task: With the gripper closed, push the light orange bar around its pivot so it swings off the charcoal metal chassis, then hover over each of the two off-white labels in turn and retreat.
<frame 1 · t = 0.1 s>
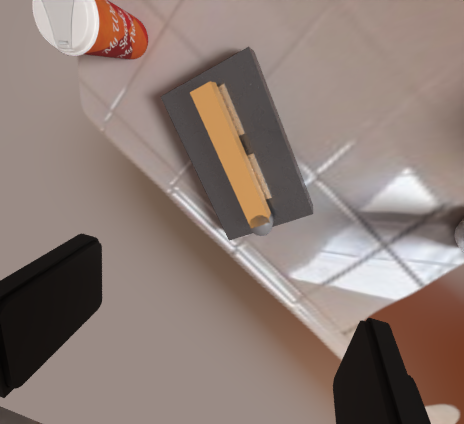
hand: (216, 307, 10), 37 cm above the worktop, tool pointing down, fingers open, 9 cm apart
light orange bar: (236, 164, 40), point 6 cm above the worktop, hinge at 0.0°
paper cup: (132, 38, 44), on the worktop
chassis: (243, 151, 46), on the worktop
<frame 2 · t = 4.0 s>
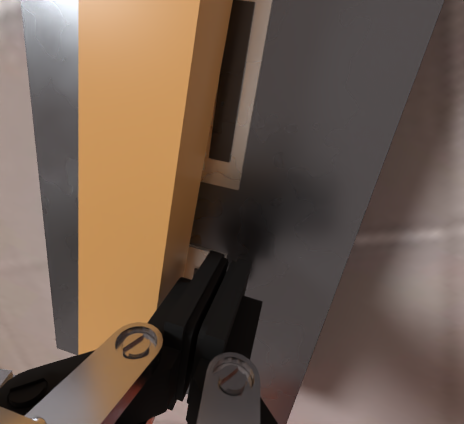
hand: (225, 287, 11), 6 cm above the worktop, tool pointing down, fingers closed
light orange bar: (145, 180, 10), point 6 cm above the worktop, hinge at 3.1°, touching gripper
chassis: (211, 167, 15), on the worktop
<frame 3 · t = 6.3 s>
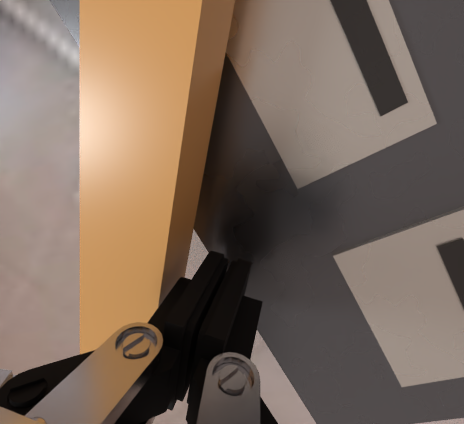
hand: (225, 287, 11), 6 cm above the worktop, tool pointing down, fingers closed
light orange bar: (146, 186, 10), point 6 cm above the worktop, hinge at 43.5°, touching gripper
chassis: (350, 151, 14), on the worktop
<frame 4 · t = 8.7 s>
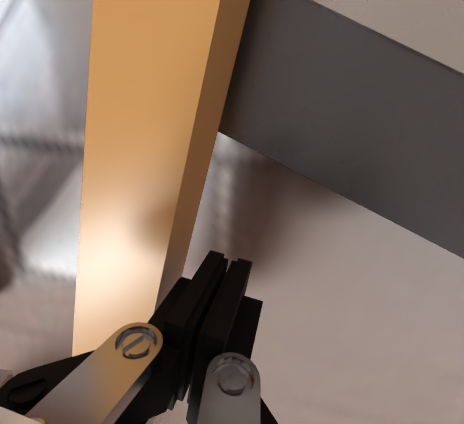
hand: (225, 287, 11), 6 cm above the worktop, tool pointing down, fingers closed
light orange bar: (149, 183, 10), point 6 cm above the worktop, hinge at 81.0°, touching gripper
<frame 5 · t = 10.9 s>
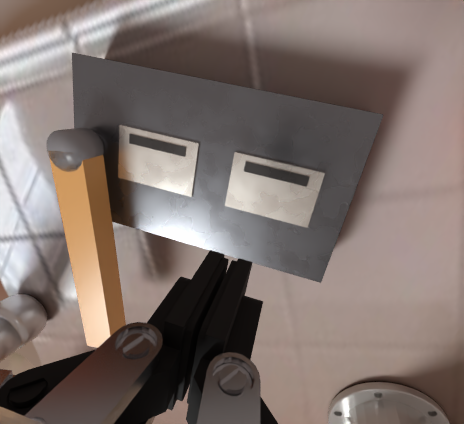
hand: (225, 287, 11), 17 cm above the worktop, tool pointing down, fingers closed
light orange bar: (92, 249, 27), point 6 cm above the worktop, hinge at 81.1°
chassis: (215, 162, 28), on the worktop
plastic bottle: (35, 306, 42), on the worktop
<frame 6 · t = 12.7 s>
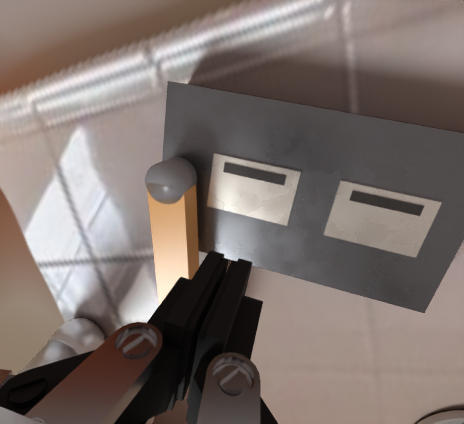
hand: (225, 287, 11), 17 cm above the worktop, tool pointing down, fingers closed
light orange bar: (178, 280, 26), point 6 cm above the worktop, hinge at 81.1°
chassis: (301, 187, 27), on the worktop
plastic bottle: (92, 329, 41), on the worktop
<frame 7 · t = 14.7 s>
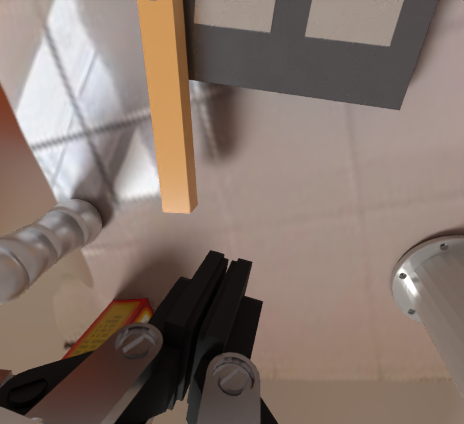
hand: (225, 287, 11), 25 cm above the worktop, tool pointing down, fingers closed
light orange bar: (170, 101, 27), point 6 cm above the worktop, hinge at 81.1°
red and yellow box: (139, 321, 49), on the worktop
chassis: (283, 13, 28), on the worktop
plastic bottle: (88, 215, 42), on the worktop
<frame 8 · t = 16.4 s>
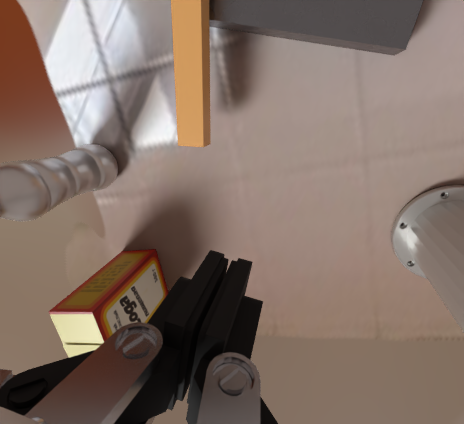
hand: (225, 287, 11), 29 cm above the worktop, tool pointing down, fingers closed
light orange bar: (191, 36, 29), point 6 cm above the worktop, hinge at 81.1°
red and yellow box: (146, 274, 50), on the worktop
plastic bottle: (105, 163, 45), on the worktop
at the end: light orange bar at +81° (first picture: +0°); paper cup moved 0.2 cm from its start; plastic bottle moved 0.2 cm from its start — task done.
